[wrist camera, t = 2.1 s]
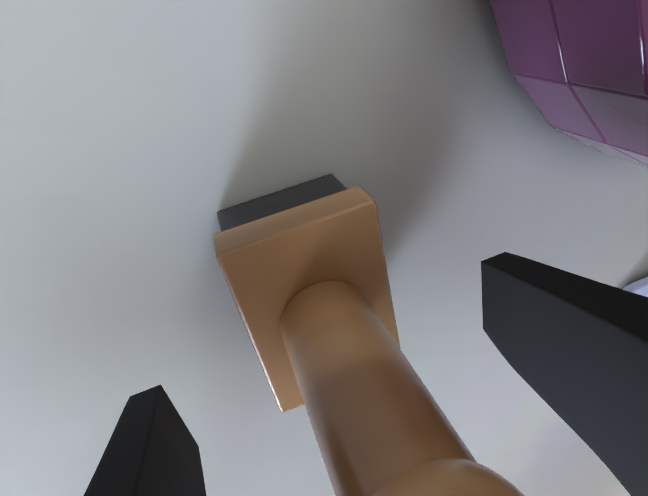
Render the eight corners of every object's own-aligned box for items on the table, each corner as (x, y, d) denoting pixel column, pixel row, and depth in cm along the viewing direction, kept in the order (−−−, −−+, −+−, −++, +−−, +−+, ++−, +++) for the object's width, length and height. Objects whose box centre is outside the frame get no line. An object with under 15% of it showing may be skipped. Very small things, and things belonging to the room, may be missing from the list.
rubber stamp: (368, 310, 14) (627, 702, 6) (263, 351, 14) (397, 835, 6) (337, 163, 12) (722, 517, 4) (205, 206, 11) (305, 738, 3)
